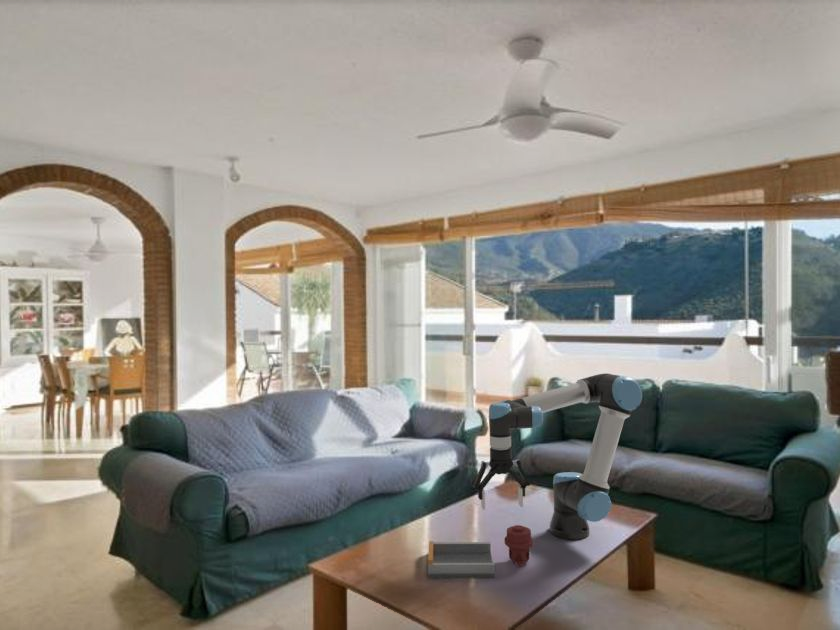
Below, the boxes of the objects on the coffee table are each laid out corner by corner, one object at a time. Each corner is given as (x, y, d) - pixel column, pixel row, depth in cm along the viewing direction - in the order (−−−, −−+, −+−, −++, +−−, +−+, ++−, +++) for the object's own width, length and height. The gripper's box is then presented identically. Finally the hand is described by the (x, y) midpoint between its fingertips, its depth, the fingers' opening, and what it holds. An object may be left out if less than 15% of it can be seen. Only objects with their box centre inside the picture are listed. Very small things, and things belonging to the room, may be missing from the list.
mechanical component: (533, 556, 203) (533, 569, 193) (505, 555, 205) (504, 567, 195) (533, 522, 202) (533, 533, 193) (505, 521, 204) (503, 532, 195)
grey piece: (490, 552, 207) (490, 538, 206) (495, 578, 188) (494, 562, 188) (429, 553, 208) (429, 538, 207) (428, 578, 189) (428, 562, 188)
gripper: (531, 442, 206) (532, 500, 207) (463, 446, 203) (465, 505, 204) (538, 447, 199) (539, 508, 199) (467, 452, 196) (469, 513, 196)
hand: (502, 507), depth 201 cm, fingers open, 13 cm apart
